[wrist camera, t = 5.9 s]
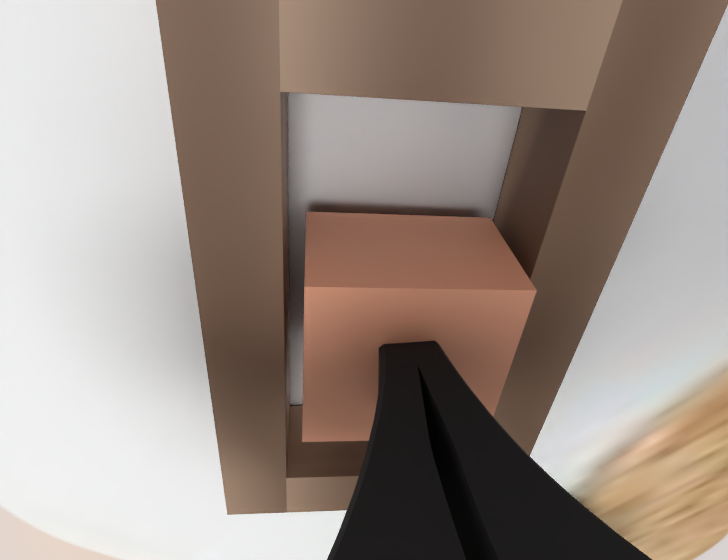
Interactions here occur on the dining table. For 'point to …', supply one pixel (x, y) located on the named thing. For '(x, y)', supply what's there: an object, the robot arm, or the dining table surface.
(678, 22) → the brown ladder-shaped frame
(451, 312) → the salmon pink cube
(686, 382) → the dining table surface
